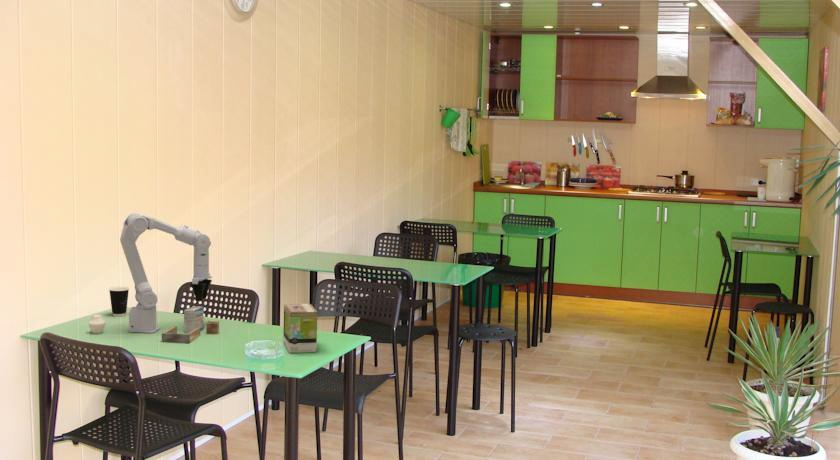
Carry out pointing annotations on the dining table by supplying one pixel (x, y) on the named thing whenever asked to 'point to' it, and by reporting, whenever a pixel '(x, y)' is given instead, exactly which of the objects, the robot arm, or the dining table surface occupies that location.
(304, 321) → the tea box
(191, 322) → the medicine box
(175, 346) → the dining table surface
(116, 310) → the dixie cup
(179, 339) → the dock bay
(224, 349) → the dining table surface
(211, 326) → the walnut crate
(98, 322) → the cream lidded jar
